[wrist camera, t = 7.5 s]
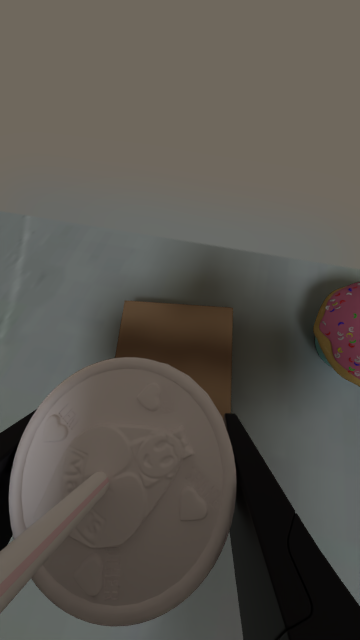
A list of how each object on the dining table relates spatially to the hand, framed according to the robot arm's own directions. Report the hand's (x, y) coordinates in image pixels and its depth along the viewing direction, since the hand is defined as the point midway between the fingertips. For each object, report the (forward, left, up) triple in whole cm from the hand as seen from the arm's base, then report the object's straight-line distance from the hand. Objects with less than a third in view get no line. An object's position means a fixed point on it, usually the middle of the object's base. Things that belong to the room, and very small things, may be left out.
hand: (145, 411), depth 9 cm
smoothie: (0, -1, -7) cm, 7 cm away
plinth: (+1, +3, -12) cm, 13 cm away
